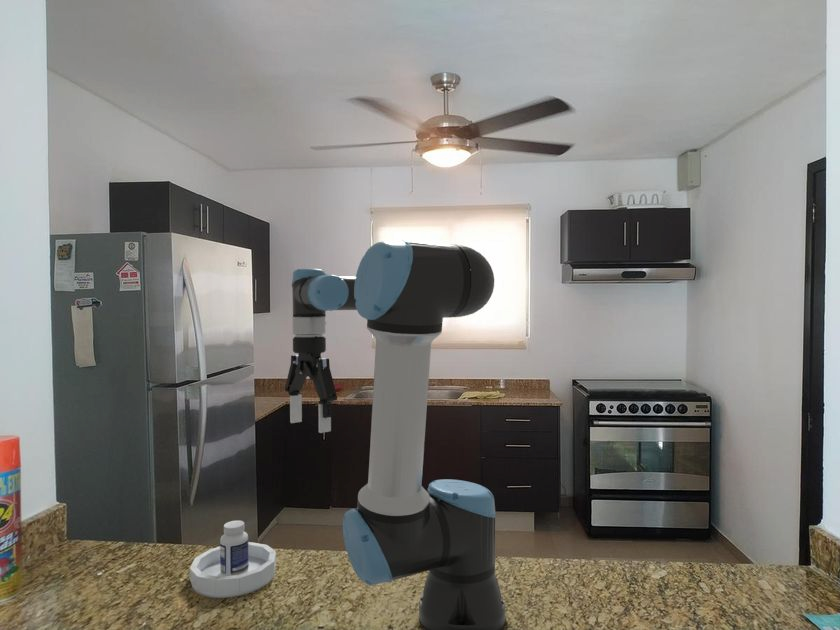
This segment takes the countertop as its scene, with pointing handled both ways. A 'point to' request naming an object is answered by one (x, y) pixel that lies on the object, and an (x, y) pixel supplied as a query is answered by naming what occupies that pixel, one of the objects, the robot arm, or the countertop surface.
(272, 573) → the dish
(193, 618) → the countertop surface
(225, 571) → the pill bottle
